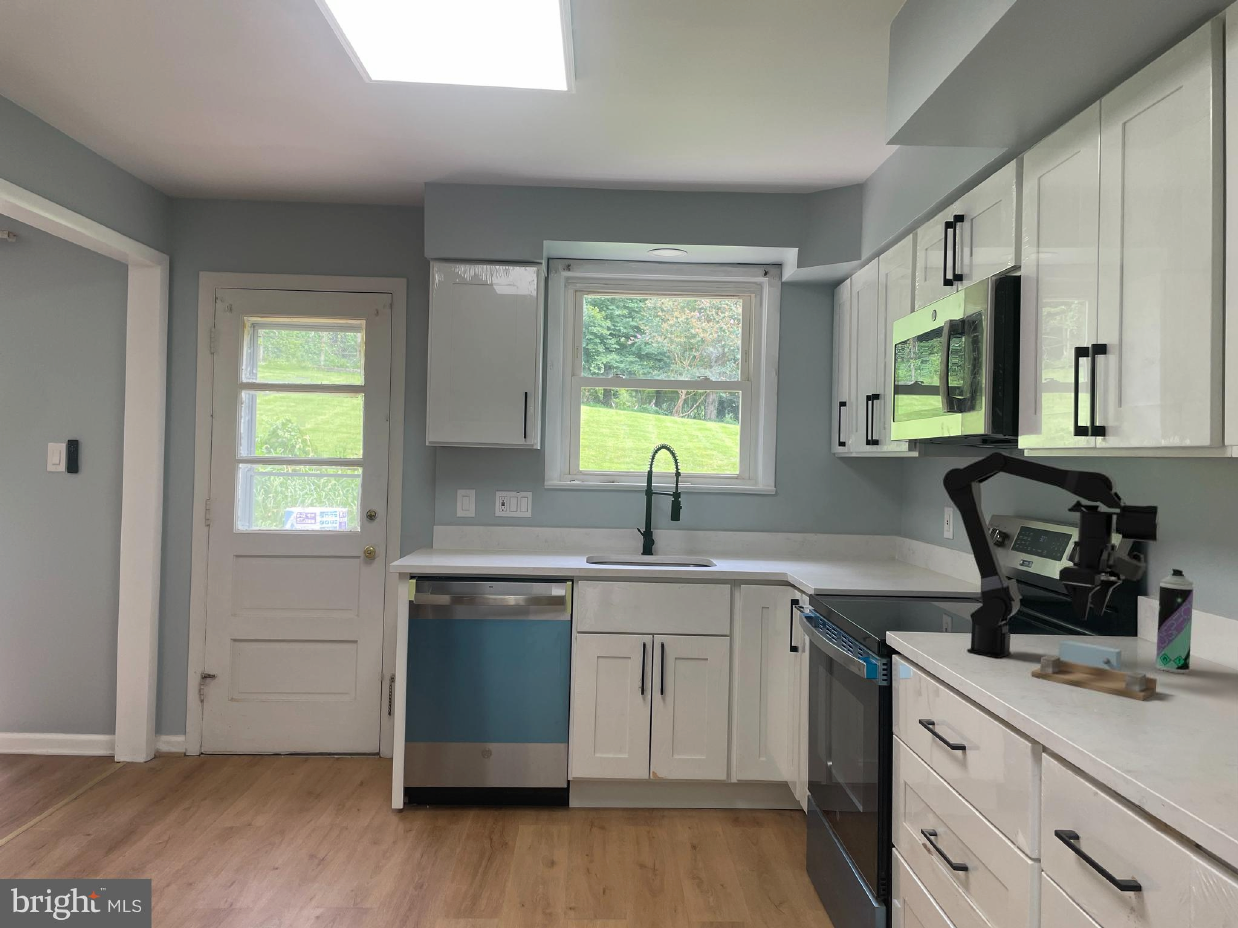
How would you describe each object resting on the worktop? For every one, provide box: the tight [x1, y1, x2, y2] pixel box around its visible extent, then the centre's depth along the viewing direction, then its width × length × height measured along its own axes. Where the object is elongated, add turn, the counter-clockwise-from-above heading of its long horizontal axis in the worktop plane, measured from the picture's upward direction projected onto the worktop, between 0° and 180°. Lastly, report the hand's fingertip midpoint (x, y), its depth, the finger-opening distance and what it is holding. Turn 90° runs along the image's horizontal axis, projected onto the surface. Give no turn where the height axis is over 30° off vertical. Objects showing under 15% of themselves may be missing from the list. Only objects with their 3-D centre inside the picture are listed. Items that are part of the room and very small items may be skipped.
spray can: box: [1155, 568, 1194, 674], centre depth 162 cm, size 6×6×20 cm
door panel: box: [1058, 639, 1122, 672], centre depth 158 cm, size 10×4×5 cm, turn 42°
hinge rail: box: [1030, 654, 1157, 701], centre depth 148 cm, size 18×8×4 cm, turn 43°
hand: (1090, 617), depth 158 cm, fingers open, 9 cm apart
